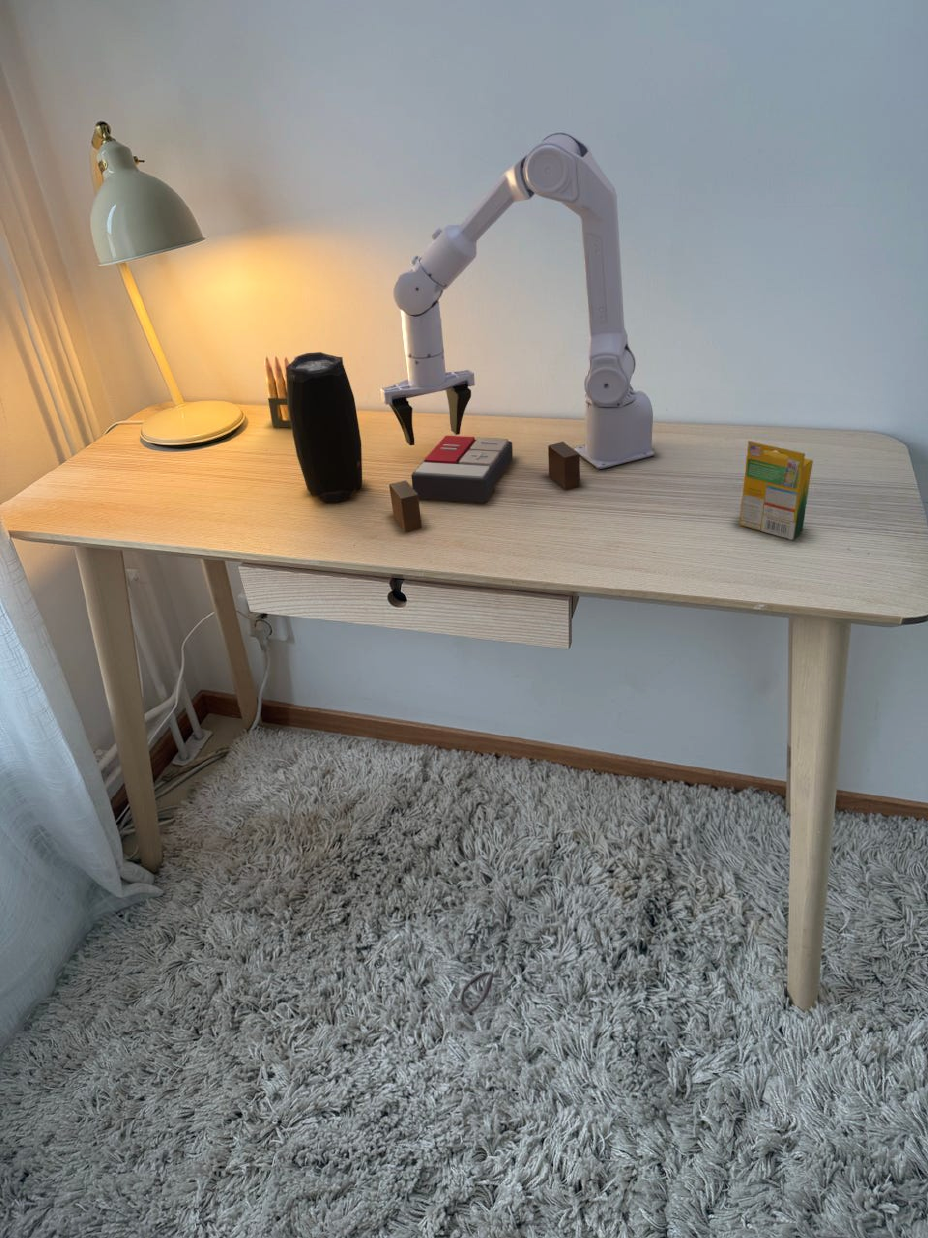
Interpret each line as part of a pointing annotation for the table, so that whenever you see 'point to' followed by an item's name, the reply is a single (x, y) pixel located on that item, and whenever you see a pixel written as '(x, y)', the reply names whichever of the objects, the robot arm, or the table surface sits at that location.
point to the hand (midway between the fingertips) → (433, 437)
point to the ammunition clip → (277, 393)
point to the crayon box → (775, 490)
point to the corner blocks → (560, 470)
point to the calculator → (462, 469)
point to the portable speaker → (324, 425)
